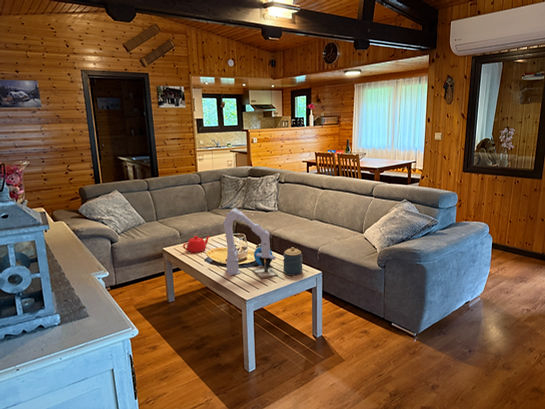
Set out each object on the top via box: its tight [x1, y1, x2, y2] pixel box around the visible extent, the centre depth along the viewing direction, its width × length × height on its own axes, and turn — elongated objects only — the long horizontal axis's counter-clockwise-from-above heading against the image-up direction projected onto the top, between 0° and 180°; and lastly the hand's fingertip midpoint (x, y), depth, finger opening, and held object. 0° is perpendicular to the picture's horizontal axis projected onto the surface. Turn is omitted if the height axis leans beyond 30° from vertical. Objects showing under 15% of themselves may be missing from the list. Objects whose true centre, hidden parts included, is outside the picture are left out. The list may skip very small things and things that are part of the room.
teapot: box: [182, 235, 211, 254], centre depth 296 cm, size 25×16×12 cm, turn 132°
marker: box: [264, 258, 268, 272], centre depth 247 cm, size 3×3×9 cm
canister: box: [282, 246, 303, 276], centre depth 246 cm, size 13×13×18 cm
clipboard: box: [251, 267, 279, 280], centre depth 247 cm, size 16×12×1 cm
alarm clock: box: [253, 243, 274, 267], centre depth 261 cm, size 13×6×15 cm, turn 52°
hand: (266, 267), depth 248 cm, fingers closed on marker, 3 cm apart
